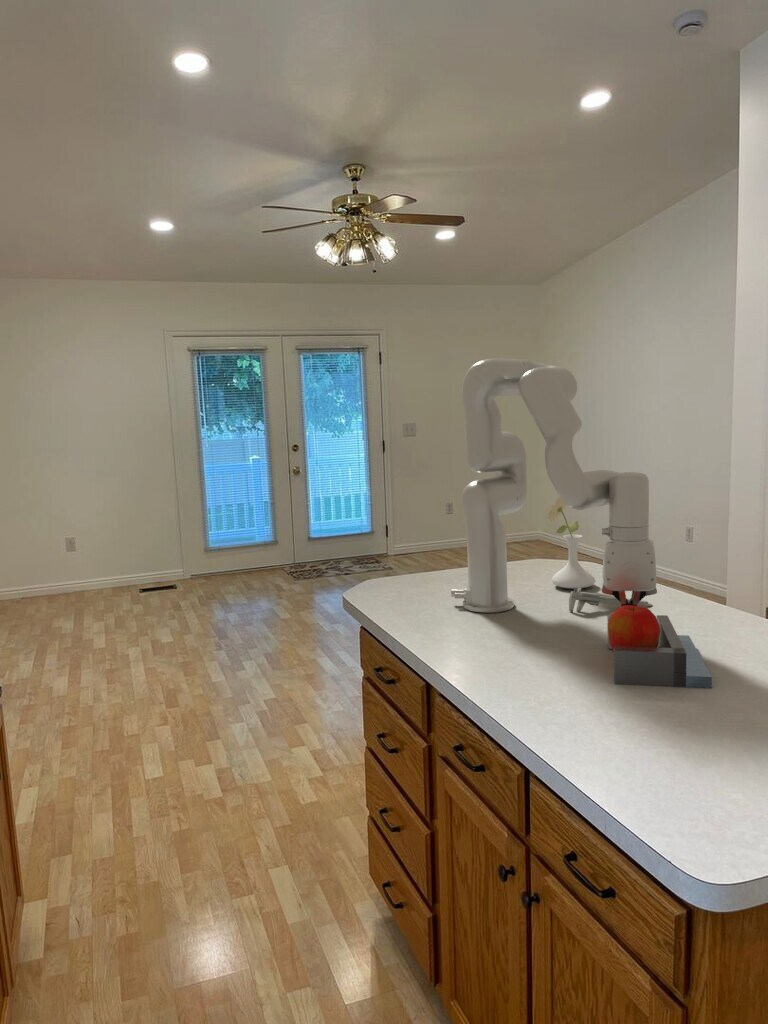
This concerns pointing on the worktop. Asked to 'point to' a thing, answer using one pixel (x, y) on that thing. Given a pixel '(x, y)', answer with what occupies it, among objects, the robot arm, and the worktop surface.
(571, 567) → the flower in vase
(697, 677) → the bracket
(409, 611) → the worktop surface
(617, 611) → the apple
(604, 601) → the caliper
